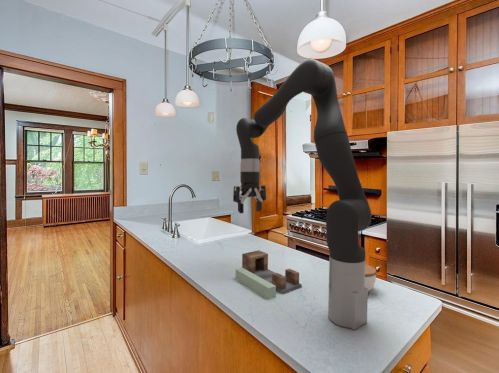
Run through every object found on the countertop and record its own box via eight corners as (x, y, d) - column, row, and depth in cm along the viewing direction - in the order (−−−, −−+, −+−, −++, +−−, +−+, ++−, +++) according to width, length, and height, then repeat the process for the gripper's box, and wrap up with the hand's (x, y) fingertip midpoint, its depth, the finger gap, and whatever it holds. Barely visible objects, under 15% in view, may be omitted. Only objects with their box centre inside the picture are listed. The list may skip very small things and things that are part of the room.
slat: (275, 298, 86) (275, 286, 86) (268, 300, 84) (268, 288, 84) (242, 277, 102) (242, 267, 102) (235, 279, 101) (235, 269, 100)
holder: (301, 287, 93) (302, 266, 93) (283, 294, 88) (283, 272, 87) (259, 267, 112) (259, 250, 112) (241, 272, 107) (241, 254, 107)
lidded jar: (351, 280, 99) (352, 256, 99) (381, 290, 91) (382, 263, 90) (336, 289, 92) (336, 262, 92) (366, 300, 84) (367, 271, 83)
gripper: (240, 170, 96) (240, 215, 96) (270, 170, 104) (270, 211, 105) (229, 170, 102) (229, 212, 102) (258, 171, 110) (258, 209, 111)
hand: (250, 212), depth 104 cm, fingers open, 8 cm apart
